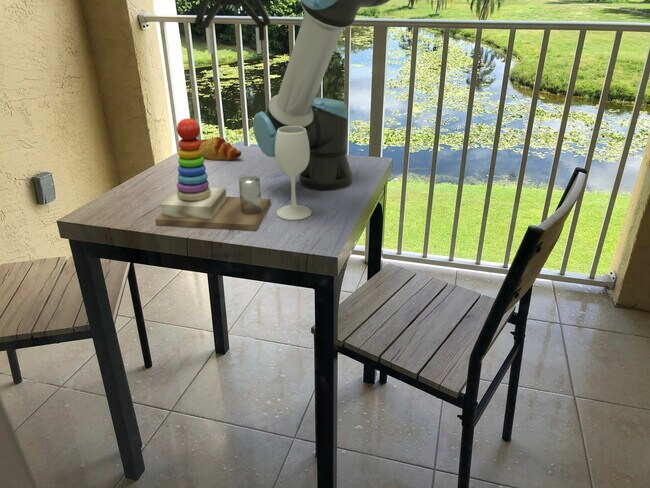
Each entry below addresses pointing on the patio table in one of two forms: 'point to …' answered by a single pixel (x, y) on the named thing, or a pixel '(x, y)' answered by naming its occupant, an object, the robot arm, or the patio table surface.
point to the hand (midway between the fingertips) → (235, 53)
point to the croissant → (218, 149)
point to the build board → (221, 217)
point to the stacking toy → (191, 163)
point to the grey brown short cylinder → (250, 195)
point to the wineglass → (292, 165)
